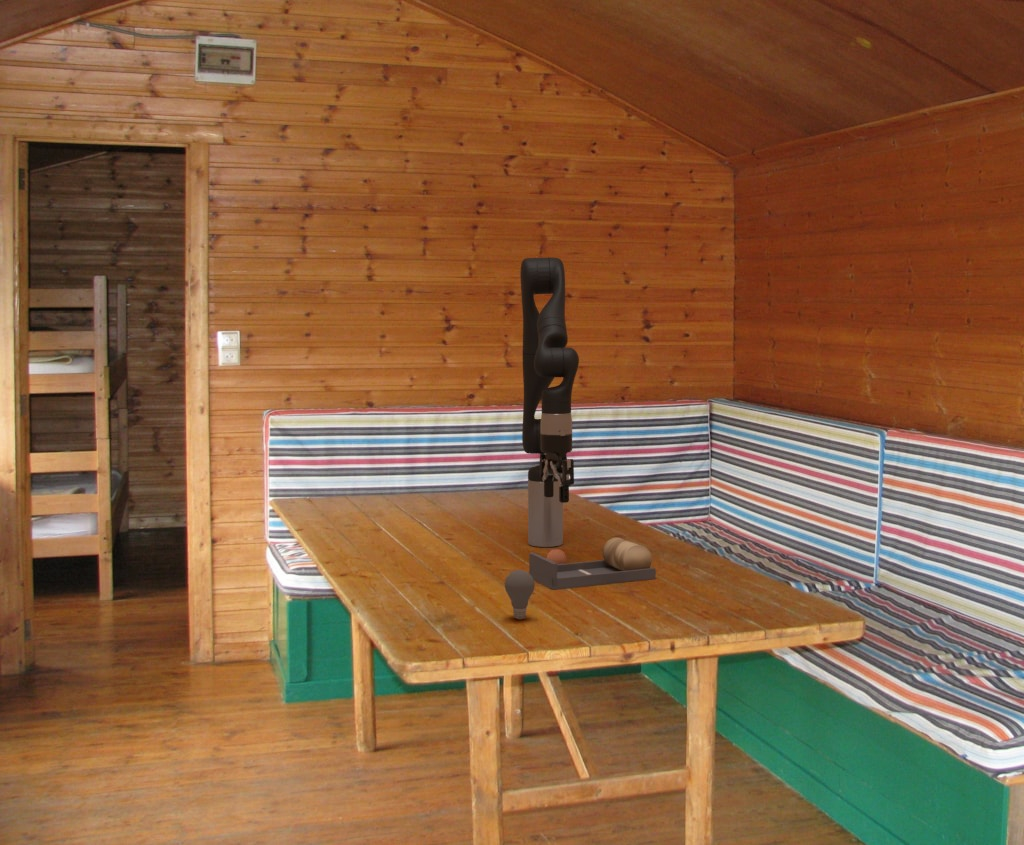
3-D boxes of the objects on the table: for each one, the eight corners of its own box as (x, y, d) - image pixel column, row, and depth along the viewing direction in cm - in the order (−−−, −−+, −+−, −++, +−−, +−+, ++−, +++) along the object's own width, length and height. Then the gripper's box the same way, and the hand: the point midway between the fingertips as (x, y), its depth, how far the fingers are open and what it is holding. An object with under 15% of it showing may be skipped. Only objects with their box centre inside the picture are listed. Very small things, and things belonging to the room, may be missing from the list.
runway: (529, 577, 271) (529, 552, 270) (628, 567, 281) (628, 543, 281) (553, 589, 259) (553, 564, 259) (655, 578, 269) (655, 553, 269)
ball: (543, 567, 281) (543, 548, 281) (561, 566, 283) (561, 546, 282) (551, 571, 277) (551, 552, 276) (569, 570, 279) (569, 550, 278)
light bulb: (533, 614, 238) (533, 566, 237) (535, 622, 232) (535, 573, 231) (504, 615, 238) (504, 567, 237) (505, 623, 232) (505, 573, 231)
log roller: (602, 567, 277) (602, 538, 277) (628, 565, 280) (628, 536, 279) (624, 577, 267) (625, 547, 266) (651, 574, 270) (651, 544, 269)
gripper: (529, 429, 282) (529, 496, 283) (554, 435, 269) (554, 505, 270) (557, 428, 285) (557, 494, 286) (584, 434, 272) (583, 503, 273)
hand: (556, 499), depth 278 cm, fingers open, 8 cm apart
